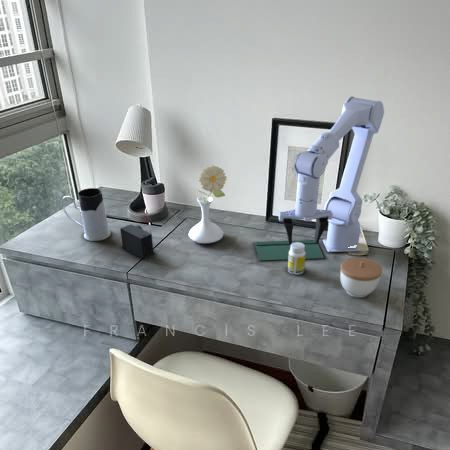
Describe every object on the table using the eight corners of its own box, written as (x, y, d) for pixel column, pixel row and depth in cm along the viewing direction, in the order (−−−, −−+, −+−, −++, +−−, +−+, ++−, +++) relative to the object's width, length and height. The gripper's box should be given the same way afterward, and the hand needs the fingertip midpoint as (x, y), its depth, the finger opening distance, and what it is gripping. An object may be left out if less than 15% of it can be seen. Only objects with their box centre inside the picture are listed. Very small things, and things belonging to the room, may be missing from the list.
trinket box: (332, 281, 137) (336, 252, 132) (369, 279, 138) (375, 250, 132) (343, 303, 128) (348, 273, 123) (383, 301, 129) (389, 271, 124)
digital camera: (157, 252, 152) (155, 232, 148) (143, 258, 149) (141, 238, 145) (136, 242, 158) (133, 222, 154) (122, 247, 155) (120, 228, 151)
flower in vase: (183, 243, 157) (178, 168, 143) (197, 228, 166) (194, 156, 152) (220, 250, 153) (219, 173, 139) (233, 235, 162) (233, 161, 147)
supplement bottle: (305, 268, 143) (307, 242, 139) (302, 276, 140) (304, 250, 135) (289, 265, 145) (291, 240, 140) (285, 273, 141) (287, 248, 136)
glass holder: (107, 240, 159) (100, 197, 150) (64, 240, 159) (54, 197, 151) (113, 229, 166) (106, 187, 158) (71, 229, 166) (63, 187, 158)
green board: (316, 241, 157) (316, 239, 157) (324, 258, 148) (324, 256, 148) (255, 243, 157) (255, 241, 156) (259, 261, 147) (259, 259, 147)
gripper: (282, 204, 126) (279, 250, 134) (337, 202, 127) (331, 248, 135) (278, 193, 132) (276, 238, 140) (331, 192, 133) (325, 236, 140)
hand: (303, 242), depth 138 cm, fingers open, 7 cm apart
